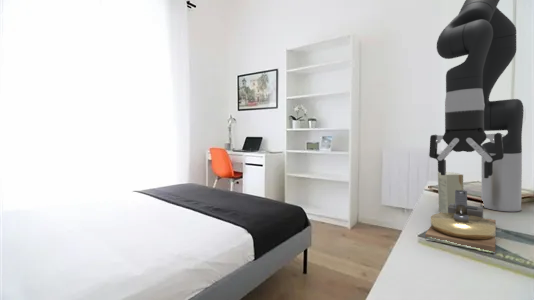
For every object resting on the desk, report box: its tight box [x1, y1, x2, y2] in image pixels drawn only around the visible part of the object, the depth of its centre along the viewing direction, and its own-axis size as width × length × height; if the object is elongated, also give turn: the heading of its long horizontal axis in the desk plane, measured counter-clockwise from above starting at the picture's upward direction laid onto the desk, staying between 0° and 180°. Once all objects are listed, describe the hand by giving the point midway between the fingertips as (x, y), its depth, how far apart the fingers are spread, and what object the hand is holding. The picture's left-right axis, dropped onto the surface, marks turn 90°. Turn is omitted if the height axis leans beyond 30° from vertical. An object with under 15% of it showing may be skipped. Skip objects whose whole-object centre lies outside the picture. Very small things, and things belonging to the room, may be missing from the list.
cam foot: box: [430, 189, 495, 239], centre depth 60 cm, size 12×12×8 cm
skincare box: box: [437, 171, 464, 213], centre depth 77 cm, size 6×4×12 cm
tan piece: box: [425, 203, 497, 253], centre depth 63 cm, size 20×12×5 cm, turn 138°
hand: (464, 176), depth 64 cm, fingers open, 8 cm apart
